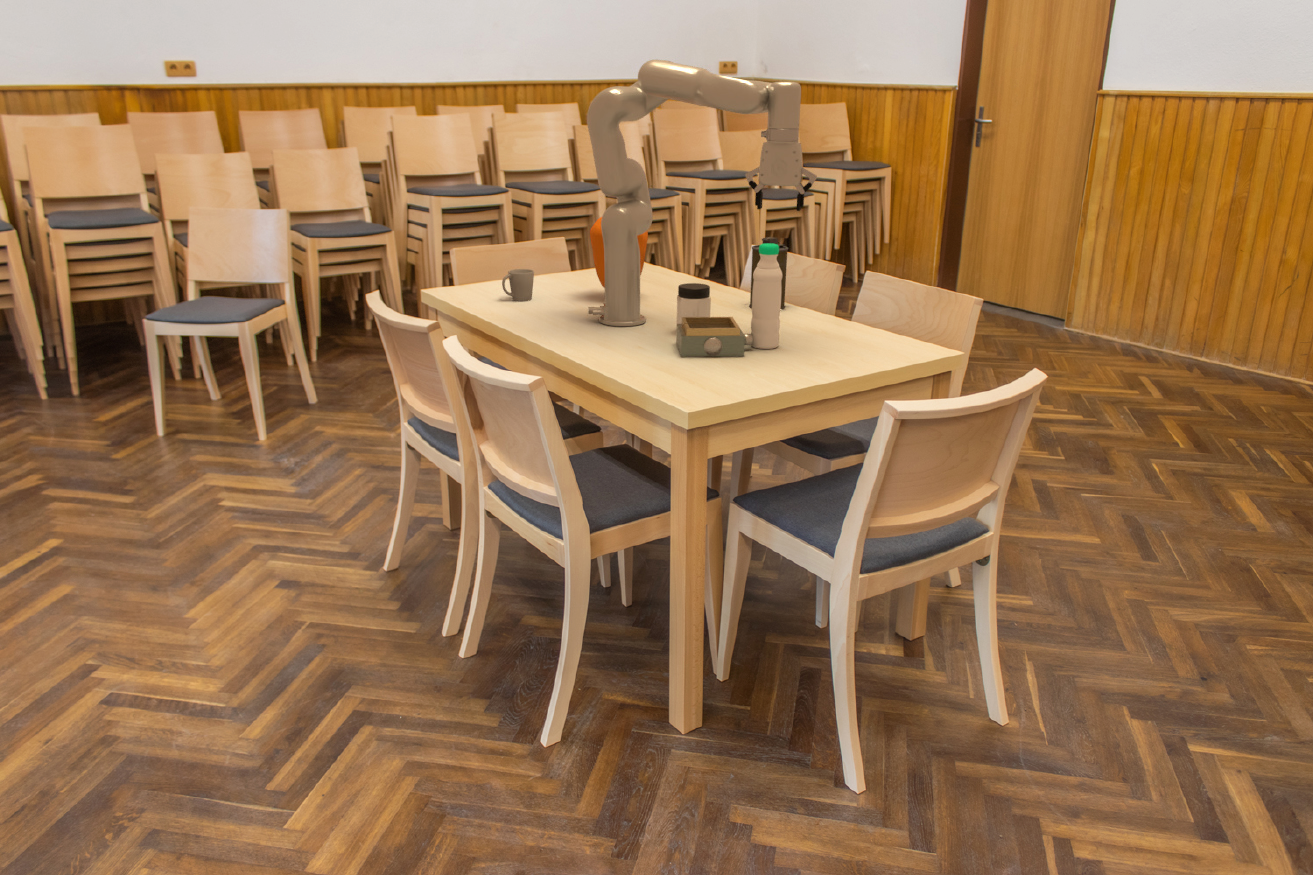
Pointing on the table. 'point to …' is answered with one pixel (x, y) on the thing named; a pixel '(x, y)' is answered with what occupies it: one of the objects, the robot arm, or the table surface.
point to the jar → (693, 301)
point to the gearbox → (711, 337)
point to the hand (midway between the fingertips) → (779, 209)
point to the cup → (520, 284)
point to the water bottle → (766, 298)
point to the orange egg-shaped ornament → (599, 249)
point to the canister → (780, 259)
